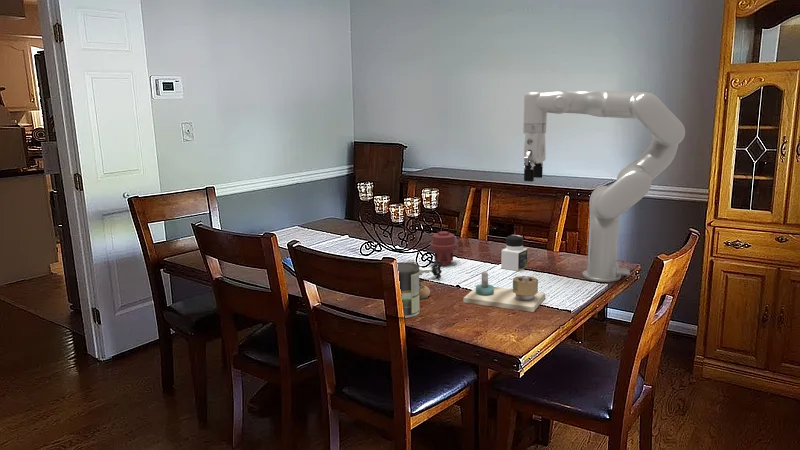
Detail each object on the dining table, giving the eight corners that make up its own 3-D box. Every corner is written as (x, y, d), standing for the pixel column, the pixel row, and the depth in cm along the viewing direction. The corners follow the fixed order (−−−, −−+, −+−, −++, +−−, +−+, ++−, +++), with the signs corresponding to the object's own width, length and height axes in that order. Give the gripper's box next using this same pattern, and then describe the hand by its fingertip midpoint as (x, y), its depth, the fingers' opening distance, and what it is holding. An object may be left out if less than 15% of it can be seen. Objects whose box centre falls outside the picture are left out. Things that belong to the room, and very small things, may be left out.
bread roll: (390, 297, 198) (391, 282, 197) (404, 292, 208) (405, 277, 207) (422, 303, 193) (424, 287, 193) (435, 297, 203) (436, 282, 203)
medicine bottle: (518, 271, 223) (519, 239, 220) (500, 268, 227) (501, 236, 225) (527, 266, 229) (528, 235, 226) (509, 264, 233) (510, 233, 230)
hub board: (545, 297, 194) (545, 271, 193) (533, 312, 182) (534, 284, 180) (478, 289, 204) (478, 264, 202) (463, 302, 192) (463, 276, 190)
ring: (539, 289, 191) (539, 277, 190) (533, 296, 185) (533, 284, 184) (517, 287, 194) (517, 275, 193) (510, 293, 188) (510, 281, 187)
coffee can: (396, 320, 178) (395, 273, 175) (379, 310, 187) (378, 265, 184) (426, 313, 183) (426, 267, 180) (408, 304, 192) (407, 260, 189)
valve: (408, 284, 212) (441, 281, 214) (407, 265, 210) (441, 262, 213) (403, 278, 218) (436, 275, 221) (403, 260, 217) (436, 257, 219)
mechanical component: (456, 260, 240) (457, 267, 230) (430, 260, 240) (430, 267, 230) (455, 229, 237) (457, 235, 227) (429, 229, 237) (430, 235, 228)
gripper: (537, 130, 199) (536, 183, 203) (553, 127, 214) (551, 176, 217) (515, 130, 203) (514, 182, 206) (531, 127, 217) (530, 175, 221)
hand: (533, 179), depth 212 cm, fingers open, 9 cm apart
